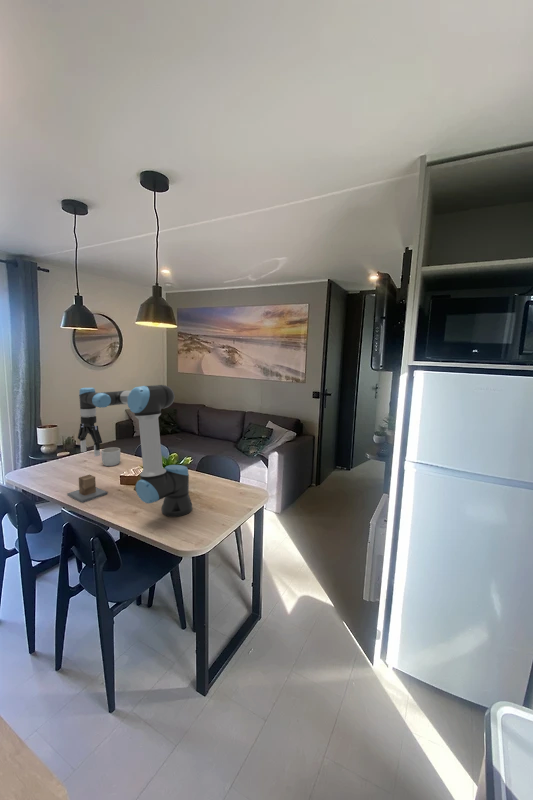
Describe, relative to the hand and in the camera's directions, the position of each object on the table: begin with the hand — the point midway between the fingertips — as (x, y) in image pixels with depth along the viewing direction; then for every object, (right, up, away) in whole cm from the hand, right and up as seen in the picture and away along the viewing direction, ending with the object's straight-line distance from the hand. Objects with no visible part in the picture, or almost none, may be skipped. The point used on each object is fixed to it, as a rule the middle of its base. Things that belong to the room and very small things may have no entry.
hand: (90, 453), depth 177 cm
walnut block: (-3, -22, +2) cm, 22 cm away
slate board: (-3, -23, +2) cm, 24 cm away
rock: (+22, -23, +15) cm, 35 cm away
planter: (-14, -17, +54) cm, 58 cm away
